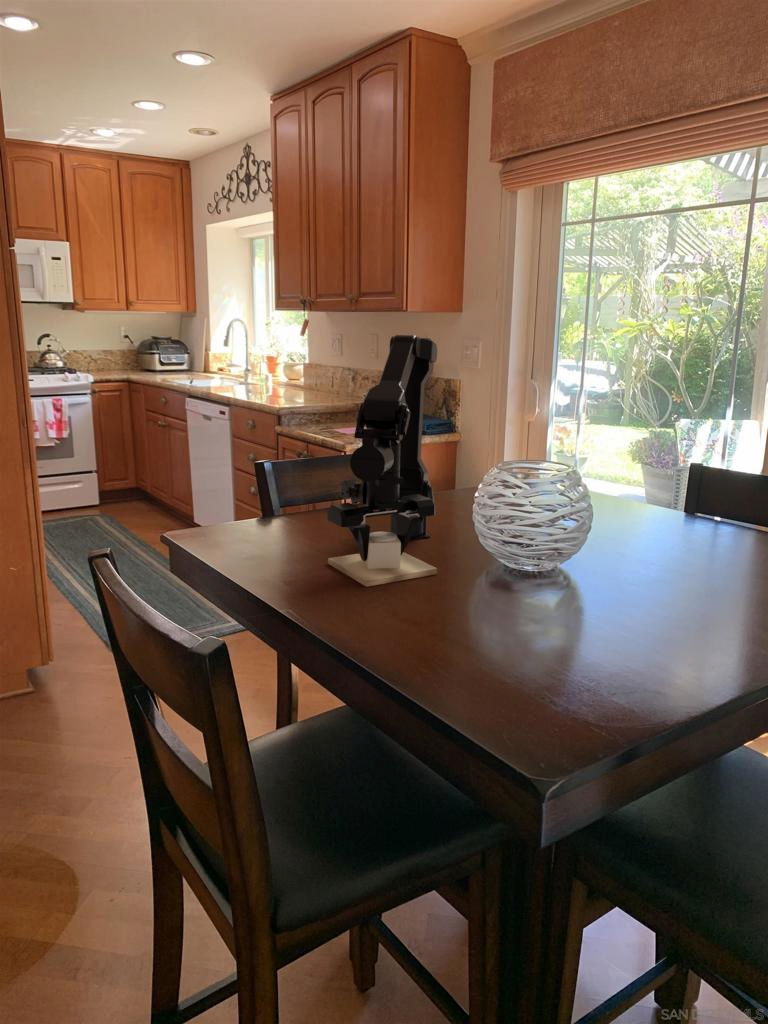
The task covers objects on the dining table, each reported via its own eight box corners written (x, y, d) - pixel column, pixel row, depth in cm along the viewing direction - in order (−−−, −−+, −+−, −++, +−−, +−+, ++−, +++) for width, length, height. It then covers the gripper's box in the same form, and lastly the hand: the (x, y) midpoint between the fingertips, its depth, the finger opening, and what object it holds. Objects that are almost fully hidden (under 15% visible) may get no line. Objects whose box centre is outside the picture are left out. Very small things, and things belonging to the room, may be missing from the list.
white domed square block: (364, 559, 135) (364, 531, 134) (394, 558, 136) (395, 530, 134) (368, 568, 129) (368, 540, 128) (400, 567, 130) (400, 539, 129)
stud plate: (394, 553, 142) (395, 532, 141) (436, 573, 130) (437, 551, 129) (328, 563, 135) (328, 542, 134) (366, 586, 123) (366, 563, 122)
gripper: (404, 458, 140) (402, 539, 144) (313, 466, 131) (313, 553, 134) (438, 468, 131) (435, 554, 134) (342, 478, 121) (342, 570, 125)
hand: (381, 557), depth 132 cm, fingers closed on white domed square block, 7 cm apart
